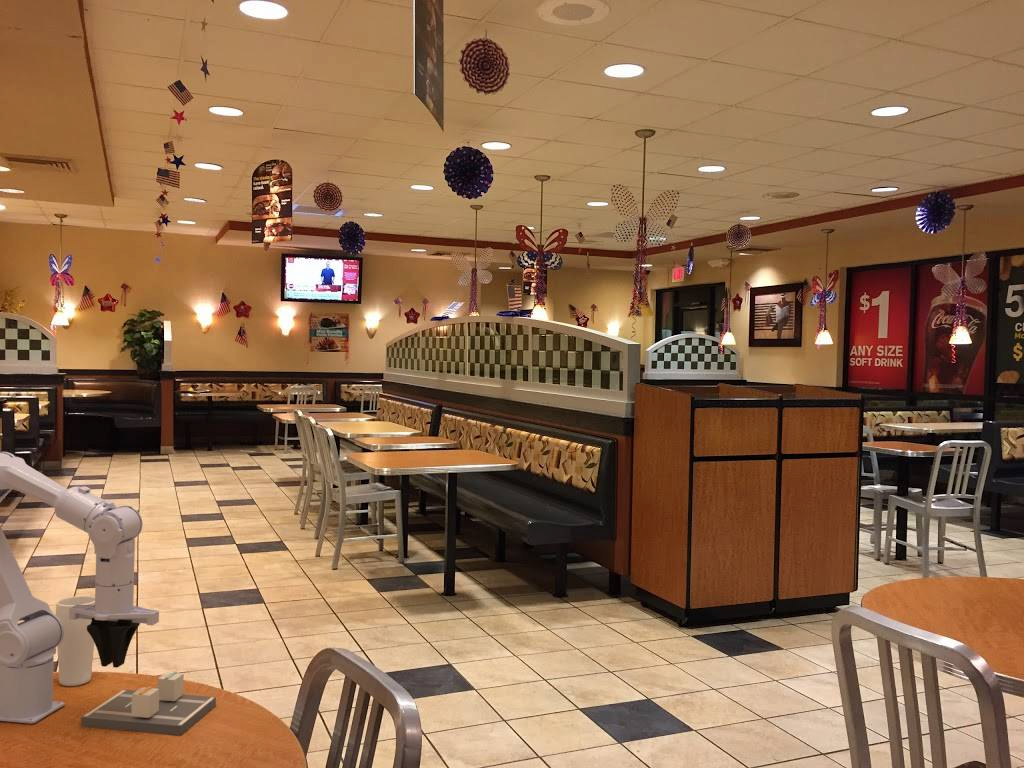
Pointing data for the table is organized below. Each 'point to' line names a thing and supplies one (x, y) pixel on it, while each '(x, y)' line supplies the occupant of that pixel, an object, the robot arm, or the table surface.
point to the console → (165, 721)
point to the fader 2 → (170, 686)
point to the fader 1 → (145, 702)
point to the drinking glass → (74, 643)
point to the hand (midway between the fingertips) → (112, 664)
